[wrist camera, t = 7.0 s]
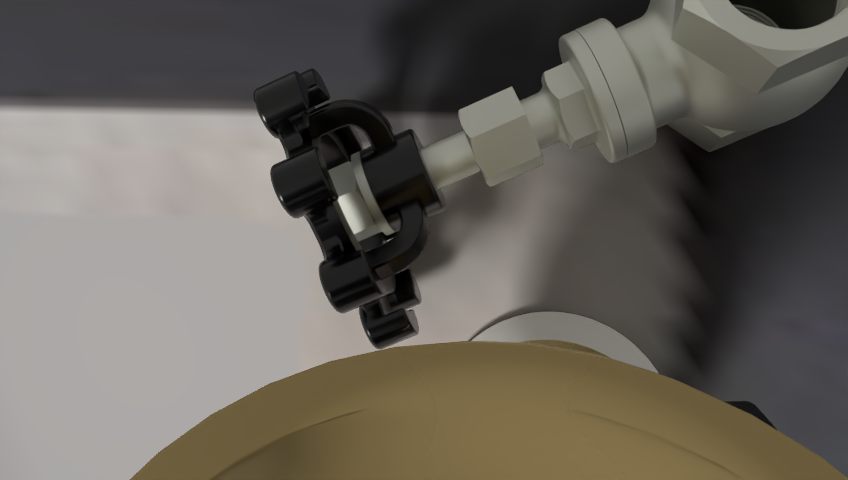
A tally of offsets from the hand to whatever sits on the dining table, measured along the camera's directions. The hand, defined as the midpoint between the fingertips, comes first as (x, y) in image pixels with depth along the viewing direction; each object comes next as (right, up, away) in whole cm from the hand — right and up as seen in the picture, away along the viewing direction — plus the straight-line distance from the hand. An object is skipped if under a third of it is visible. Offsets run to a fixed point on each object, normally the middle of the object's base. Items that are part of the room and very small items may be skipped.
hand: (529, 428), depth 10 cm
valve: (+3, +5, +11) cm, 12 cm away
